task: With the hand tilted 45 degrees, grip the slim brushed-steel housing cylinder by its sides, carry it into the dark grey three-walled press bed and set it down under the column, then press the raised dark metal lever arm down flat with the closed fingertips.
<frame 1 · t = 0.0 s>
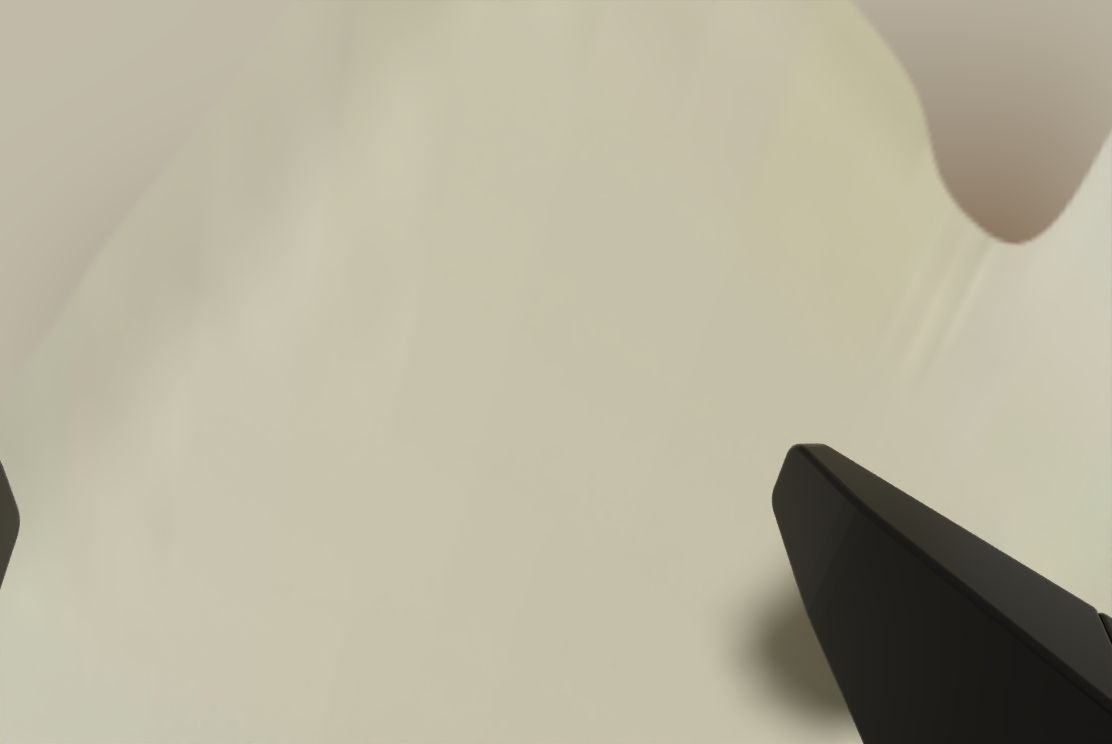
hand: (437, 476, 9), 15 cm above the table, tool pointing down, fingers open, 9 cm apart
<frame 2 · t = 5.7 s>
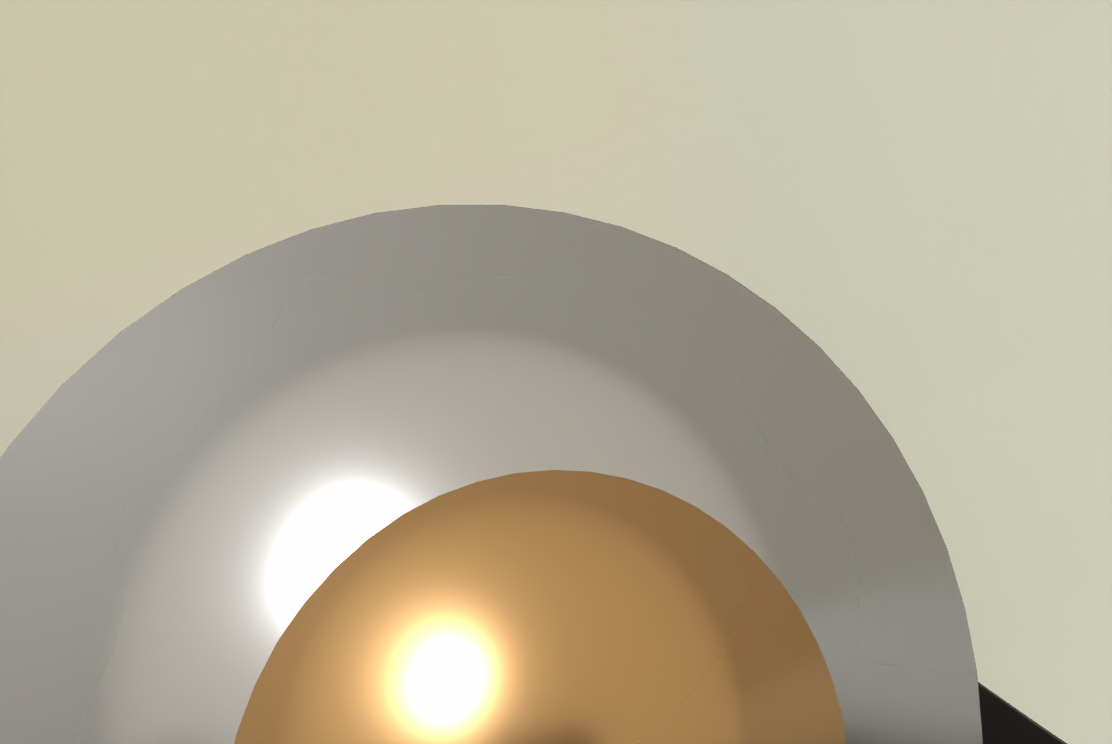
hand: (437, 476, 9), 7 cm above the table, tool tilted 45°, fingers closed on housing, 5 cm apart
housing: (417, 567, 15), on the table, touching gripper
when the fingers open (8 cm above the table, at t = 11.1 s): housing stays where it is, resting on press bed.
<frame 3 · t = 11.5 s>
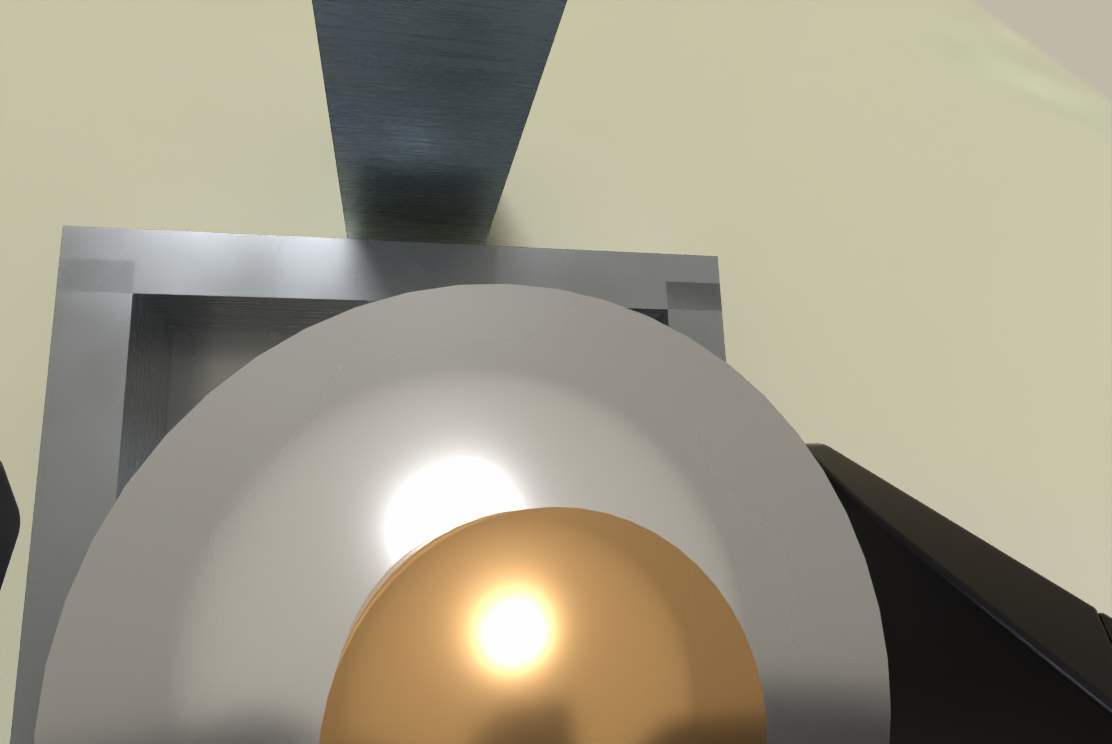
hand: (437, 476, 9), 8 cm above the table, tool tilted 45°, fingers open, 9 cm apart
press bed: (414, 563, 16), on the table
housing: (416, 569, 16), resting on press bed
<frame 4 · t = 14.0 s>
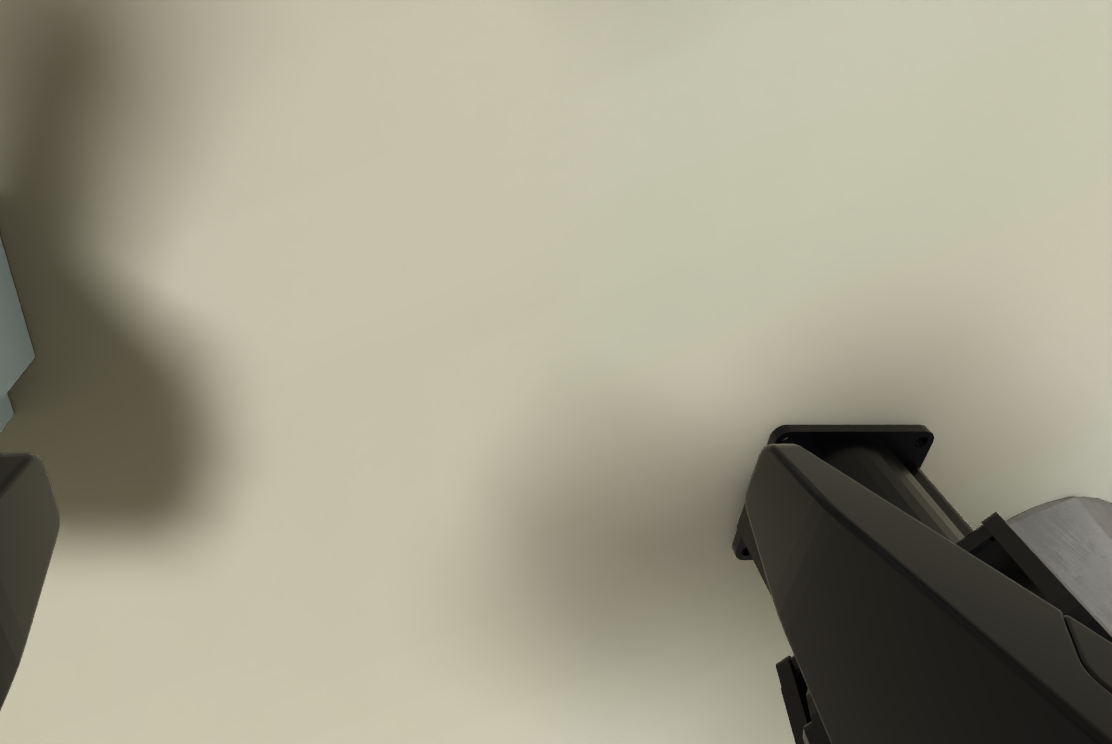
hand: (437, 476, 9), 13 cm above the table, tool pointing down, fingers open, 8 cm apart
coffeepot: (1011, 576, 35), on the table
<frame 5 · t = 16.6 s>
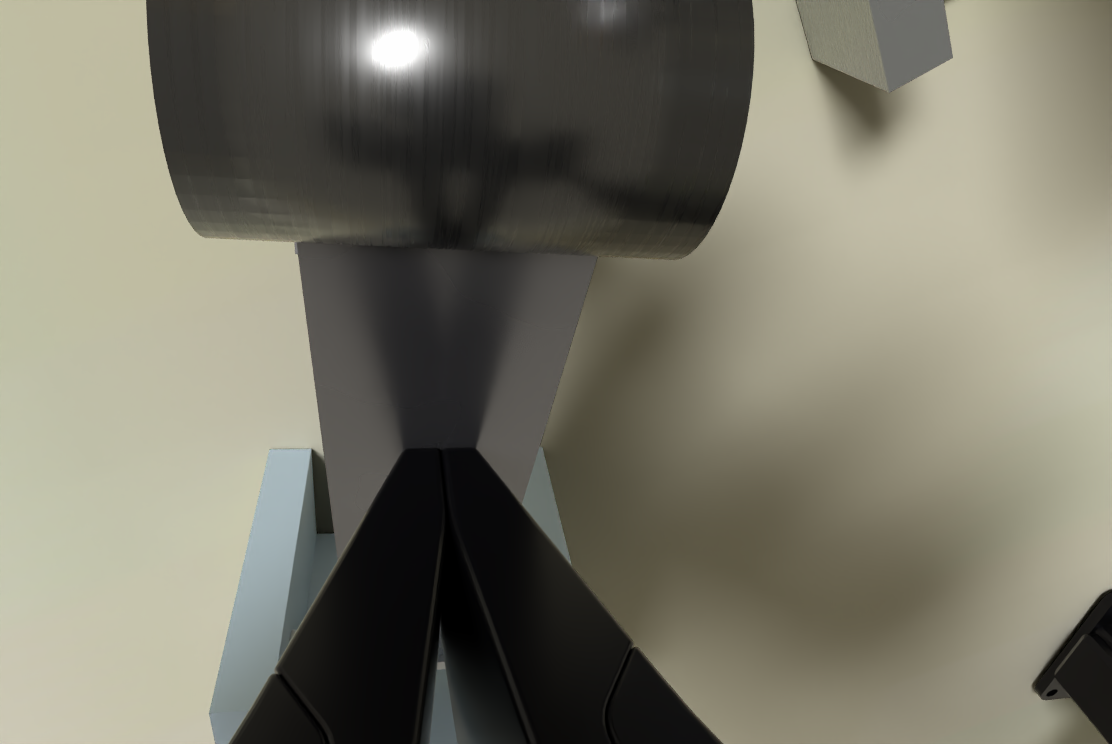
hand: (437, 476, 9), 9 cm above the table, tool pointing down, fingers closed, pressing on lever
lever: (427, 461, 10), point 8 cm above the table, hinge at -19.9°, touching gripper
lever frame: (409, 491, 20), on the table
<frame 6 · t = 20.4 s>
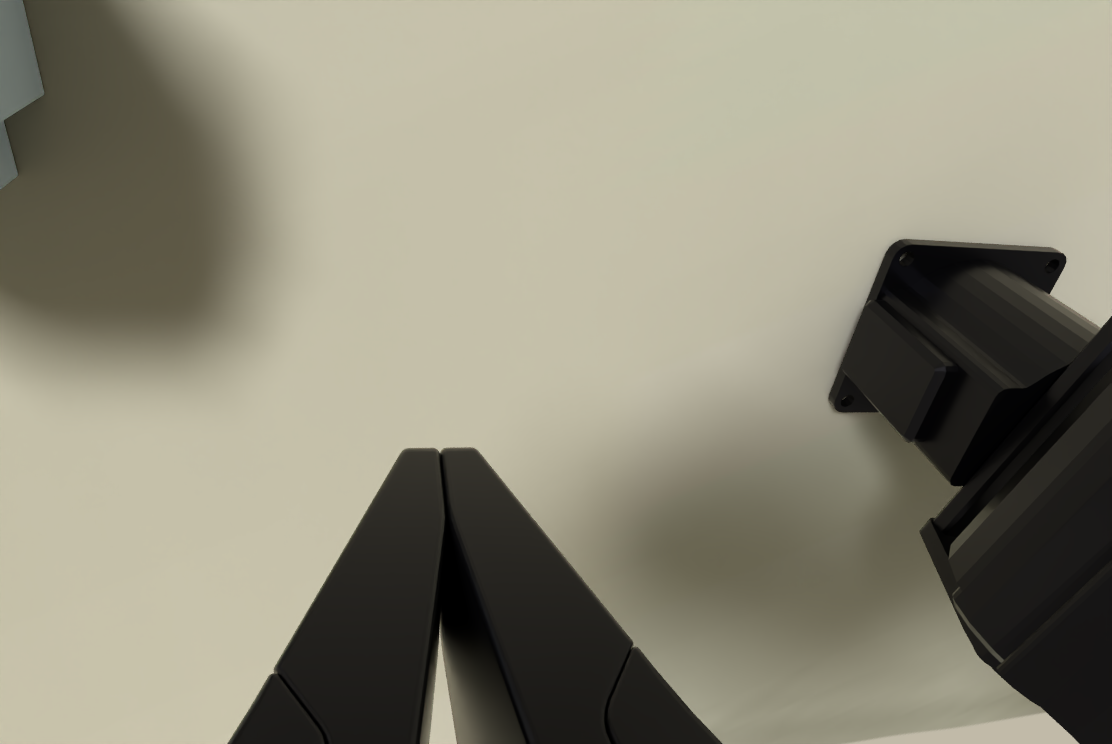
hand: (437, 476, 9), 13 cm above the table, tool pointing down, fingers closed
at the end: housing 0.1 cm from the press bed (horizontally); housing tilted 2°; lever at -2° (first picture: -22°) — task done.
